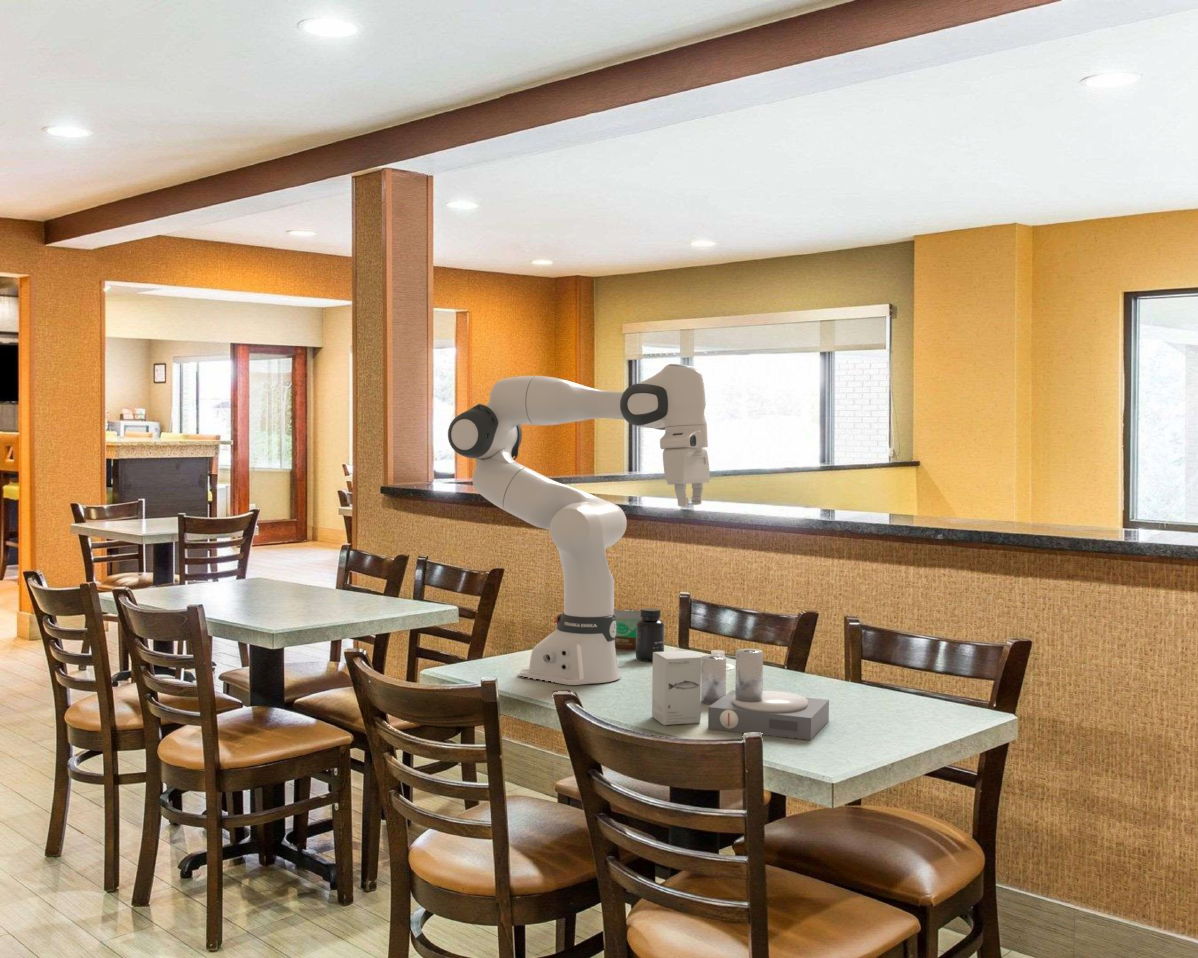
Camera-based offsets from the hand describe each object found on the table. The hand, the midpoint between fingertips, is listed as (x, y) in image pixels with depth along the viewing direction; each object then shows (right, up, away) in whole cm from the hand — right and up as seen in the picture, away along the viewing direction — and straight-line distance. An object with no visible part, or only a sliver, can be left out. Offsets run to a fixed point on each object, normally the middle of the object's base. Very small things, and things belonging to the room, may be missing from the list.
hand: (690, 505), depth 240 cm
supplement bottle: (-7, -38, +32) cm, 50 cm away
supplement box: (-5, -40, -26) cm, 48 cm away
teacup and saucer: (+11, -39, +25) cm, 47 cm away
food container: (-12, -37, +45) cm, 60 cm away
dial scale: (+12, -40, -29) cm, 51 cm away
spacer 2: (+9, -35, -29) cm, 47 cm away
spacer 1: (+4, -39, -11) cm, 41 cm away
